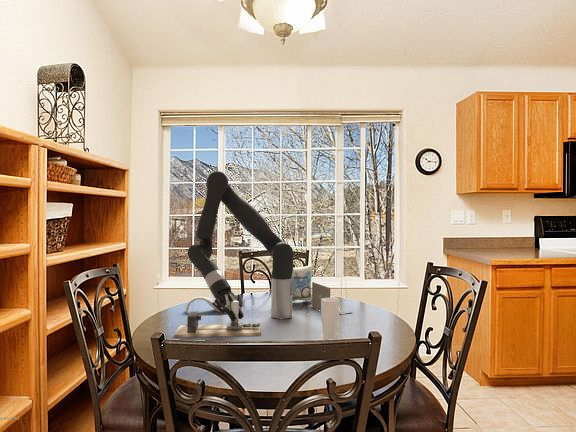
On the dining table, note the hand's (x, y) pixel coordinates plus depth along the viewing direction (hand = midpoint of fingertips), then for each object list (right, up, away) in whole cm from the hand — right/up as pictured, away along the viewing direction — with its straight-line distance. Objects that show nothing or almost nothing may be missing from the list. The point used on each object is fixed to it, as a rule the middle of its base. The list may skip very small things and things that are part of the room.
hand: (238, 318), depth 152 cm
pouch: (+24, -5, +51) cm, 56 cm away
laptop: (+40, -6, +36) cm, 55 cm away
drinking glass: (+35, -6, -9) cm, 36 cm away
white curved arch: (-17, -5, +33) cm, 38 cm away
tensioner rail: (-8, -5, +1) cm, 9 cm away
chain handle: (+2, -4, +2) cm, 4 cm away
